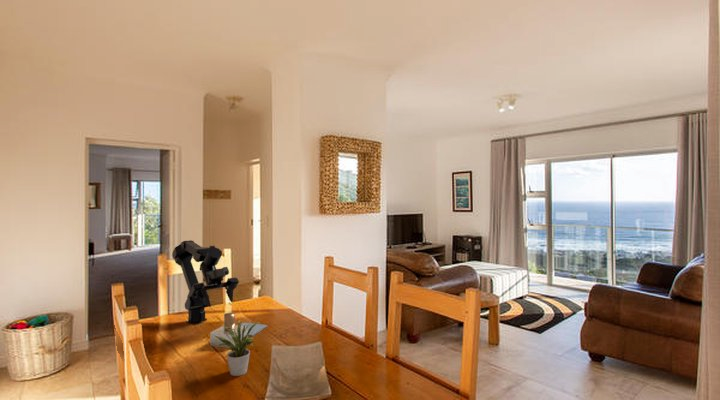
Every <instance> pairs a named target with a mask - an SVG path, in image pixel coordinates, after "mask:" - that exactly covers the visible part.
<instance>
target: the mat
mask: <svg viewBox="0 0 720 400" xmlns="http://www.w3.org/2000/svg"><path fill="white" fill-rule="evenodd" d="M250 324H252V325H254V324H255V323H250V322H242V323H241V326H244V325H245V326H248V325H249V326H248V330H249V329H250V327H251V326H252V325H250ZM267 327H269V326H268V325H267V324H261V323H257V324H256V325H255V326H254V327H253V328H252V330H251V331H250V333H249V335H250V334H251V333H252V334H251V335H250V336H249V335H248V337H253V336H255V335H257V334H258V333H259V332H261V331H262V330H265V329H266V328H267Z"/></svg>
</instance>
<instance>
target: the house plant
mask: <svg viewBox="0 0 720 400" xmlns="http://www.w3.org/2000/svg"><path fill="white" fill-rule="evenodd" d="M241 324H242V323H241V320H240V319H238V323H237V325H238V328H237V333H238V336H237V334H236V332H235V331H234V329H233V328H232V329H233V331H234V332H233V331H232V330H231V329H230V328H228V327H225V326H224V325H221V324H220V327H222V326H223V327H225V328H227V330H228V331H229V332H230V334H231V336H232V335H233V336H232V339H233V340H234V342H235V346H234V345H233V344H232V343H231V342H230V341H228V340H226V339H224V338H222V337H219V336H215V337H216V338H218V339H219V340H221V341H222V342H223V343H221V344H220V345H227V346H229V347H230V348H229V349H231V350H230V351H229V352H228V353H227V354H226V355H227V356H226V357H227V363H228V368H229V374H230V375H231V376H234V377H238V376H242V375H245V374H247V371H248V368H249V367H248V366H249V361H250V354H251V351H250V350H249V349H248V347H249V346H250V345H251V346H252V347H254V343H255V341H253V340H255V338H254V337H251V336H250V335H251V334H252V333H251V334H250V335H249V333H250V331H251V330H252V328H253V327H254V326H255V325H256V324H260V321H258V322H255V323H252V324H254V325H252V324H250V325H252V326H251V327H250V329H249V330H248V332H247V334H246V335H245V336H244V332H245V330H246V328H247V327H248V326H249V325H248V326H247V327H246V328H245V325H244V326H243V331H242V339H241ZM229 327H230V326H229ZM218 332H220V331H218ZM222 333H223V332H222ZM234 333H235V334H234ZM224 334H225V333H224ZM225 335H227V334H225ZM235 335H236V336H235ZM248 335H249V336H248ZM227 336H228V335H227ZM228 337H229V336H228ZM247 337H248V338H247ZM229 338H230V337H229ZM230 339H231V338H230ZM246 339H247V340H246ZM232 342H233V341H232ZM234 342H233V343H234ZM220 345H218V346H220Z"/></svg>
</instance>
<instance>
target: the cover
mask: <svg viewBox="0 0 720 400" xmlns="http://www.w3.org/2000/svg"><path fill="white" fill-rule="evenodd" d="M223 324H224V325H221V326H220V327H218V328H216V329H214V330H212V331H211V332H209V337H210V338H209V340H210V341H209V343H210V345H209V346H211V347H217V348H224V349H225V348H226V349H231V348H230V347H229V346H227V345H220V344H221V343H223V342H222V341H221V340H219V339H218V338H216V337H215V336H219V337H222V338H224V339H226V340H228V341H230V342H231V343H232V344H233V345H234V346H235V342H234V340H233V339H232V336H233V335H232V336H231V334H230V332H229V331H228V330H227V328H225V327H228V328H230V329H231V330H232V331H233V329H234V331H235V332H236V334H237V336H238V333H237V328H238V324H236V313H235V312H226V313H224V316H223ZM223 326H225V327H223ZM229 326H230V327H229ZM246 327H247V326H245V328H246ZM232 328H233V329H232ZM218 331H220V332H218ZM234 331H233V332H234ZM242 331H243V326H241V339H242ZM222 332H223V333H222ZM247 332H248V327H247V328H246V330H245V332H244V336H245V335H246V334H247ZM224 333H225V334H227V335H228V336H229V337H230V338H231V339H230V338H229V337H228V336H227V335H225V334H224ZM234 334H235V333H234ZM235 336H236V335H235ZM247 338H249V336H248V337H247ZM246 340H247V339H246ZM232 341H233V342H234V343H233V342H232ZM218 345H220V346H218Z"/></svg>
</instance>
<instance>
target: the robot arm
mask: <svg viewBox="0 0 720 400" xmlns="http://www.w3.org/2000/svg"><path fill="white" fill-rule="evenodd" d="M171 256H172V258H173V260H174V262H175V264H177V265H178V266H180V268H181V270H182V271H181V272H182V274H183V277H184V279H185V282H186V283H185V284H186V286H187V289H188V293H187V297H186V298H187V299H185V302H184V308H185V310H186V311H188V317H187V319H188V320H186V321H185V323H186V324H193V325H199V324H201V323H203V322H205V321H207V319H208V318H206V311H205V309H206V308H210V307H211V306H212V304H211V301H210V295H209V294H208V292H207V291H209V290H216V289H221V288H224V289H225V290H226V291H225V292H226V296H227V297H228V300H229V302H231V303H233V301H234V290H235V289H236V288H237V286H238V284H239V283H240V281H239V278H238V277H229V278H227V280H226V281H225V282H223V281H224V278H225V277H226V276H228V275H229V274H230V270H229V267H228V266H223V267H222V268H217V267H216V266H217V265H218V264H219V262H220V260H221V258H222V256H223V251H222V250H221V249H220V248H218V247H216V246H215V245H209V246H201V245H199V244H198V243H196V242H195V241H194V240H191V239H190V240H183V241H181V243H180V244H178V245H176V246H175V247H174V249H173V250H172V255H171ZM192 260H194V261H195V262H196V263H200V265H199V271H201V273H202V276H203V279H202V280H203V282H199V281H198V277H197V274H196V272H195V269H194V266H193V263H192ZM204 282H205V283H204Z"/></svg>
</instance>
